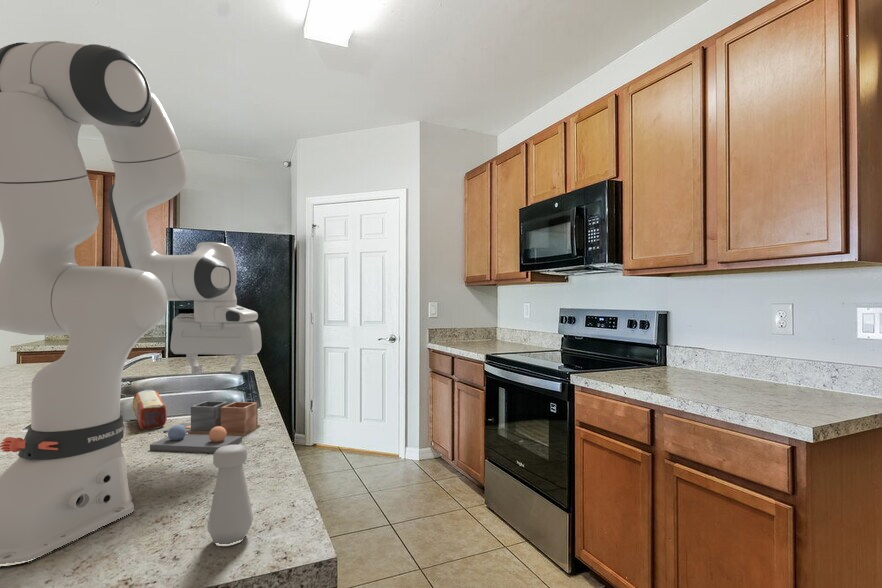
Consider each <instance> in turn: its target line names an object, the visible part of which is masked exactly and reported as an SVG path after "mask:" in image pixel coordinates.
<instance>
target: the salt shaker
mask: <svg viewBox="0 0 882 588" xmlns="http://www.w3.org/2000/svg"><path fill="white" fill-rule="evenodd" d="M212 457H213V458H212V460H213V462H212V463H213V465H214V467H215V468H218V470H217V475H216V480H215V486H214V491H213V496H212V500H211V501H212V502H211V506H210V510H209V517H208V521H207V522H208V523H207V525H206V526H207V532H208V533H209V535H210V536H211V540H212V542H213V544H214V543H219V544H230V543H233V542H236V541H239V540H242V539H243V538H244V537H245V536H246V534H247V535H248V534H249V530H250V528H251V526H252V523H253V520H254V515H253V510H252V505H251V500H250V495H249V491H248V490H249V489H248V485H247V480H246V476H245V469H244V464H245V463H246V461H247V459H248V451H247V448H246V447H244V446H243V444H236V445H227V446H223V447H220V448H218V449H217V450H216V451H215V453H213V456H212ZM246 537H247V536H246ZM246 537H245V538H246ZM245 538H244V539H245Z"/></svg>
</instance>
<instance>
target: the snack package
mask: <svg viewBox="0 0 882 588" xmlns="http://www.w3.org/2000/svg"><path fill="white" fill-rule="evenodd" d="M132 409H133V412H134V414H135V417H136V419H137V424H138V425H139V428H140V429H141V430H143V431H146V430H145V429H148V430H154V429H158V428H162V427H163V426H164V425H165V424H166V423H167V420H168V409H167V406H166V405H165V403H164V401H163V399H162V397H161V396H160V393H159V392H158V391H156V390H151V389H150V390H149V389H146V390H142V391H139V392H137V393H135V395H134V397H133V399H132Z"/></svg>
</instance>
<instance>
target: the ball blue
mask: <svg viewBox="0 0 882 588" xmlns="http://www.w3.org/2000/svg"><path fill="white" fill-rule="evenodd" d="M169 428H170V429H169ZM169 428H168V429H169V431H168V432H167V437H169V439H170V440H172V441H179V440H181V439H183V438H184V436H185V434H187V433H186V429H185V428H184V427H183V426H182V425H179V424H175V425H173V426H171V427H169Z"/></svg>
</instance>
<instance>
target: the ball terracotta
mask: <svg viewBox="0 0 882 588" xmlns="http://www.w3.org/2000/svg"><path fill="white" fill-rule="evenodd" d="M225 437H226V430H225V429H224V428H223V427H221V426H217V427H214V428H213V429H211V431H210V432H209V439H210V440H211V441H212V442H215V443H219V442H221V441H223V440H224V439H225Z"/></svg>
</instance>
